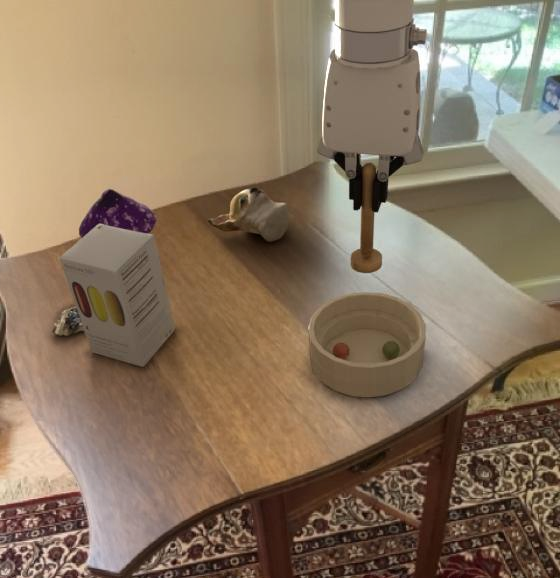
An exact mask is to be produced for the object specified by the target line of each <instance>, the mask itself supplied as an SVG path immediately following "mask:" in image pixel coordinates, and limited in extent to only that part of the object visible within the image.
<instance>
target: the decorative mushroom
mask: <svg viewBox="0 0 560 578" xmlns="http://www.w3.org/2000/svg"><path fill="white" fill-rule="evenodd" d="M156 223H157V217H156V213H155V212H154V211H153V210H152V209H151V208H150V207H148V205H146V204H143V203H141V202H139V201H137V200H135V199H134V198H131V197H130V196H128V195H125V194H122V193H120V192H119V191H116V190H114V189H112V188H108V189H105V190H104V191H103V192H102V193H101V196H100V197H99V198H98V199H97V200H96V201H95V202H94V203H93V204H92V206H91V207H90V208H89V210H87V213H86V214H85V216H84V218H83V219H82V221H81V223H80V224H79V227H78V235H79V237H80V239H82V238H83V237H84V236H85V235H86V234H87V233H88V232H90V231H91V230H92V229H93V228H94V227H96V226H97V225H98V224H104V225H108V226H112V227H117V228H121V229H126V230H131V231H136V232H141V233H147V234H151V232H152V231H153V229H154V228H155V226H156Z"/></svg>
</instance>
